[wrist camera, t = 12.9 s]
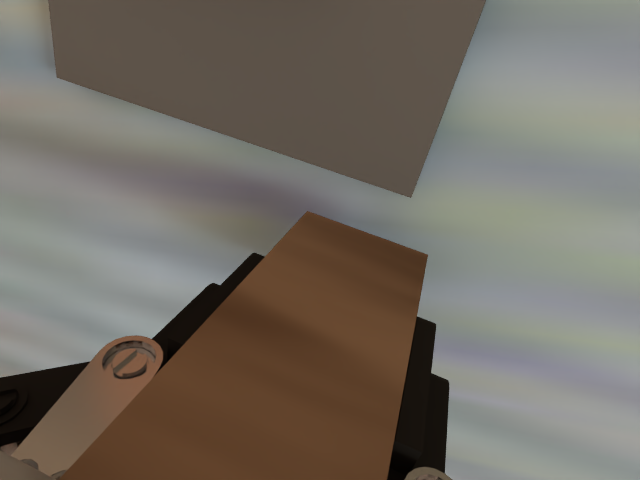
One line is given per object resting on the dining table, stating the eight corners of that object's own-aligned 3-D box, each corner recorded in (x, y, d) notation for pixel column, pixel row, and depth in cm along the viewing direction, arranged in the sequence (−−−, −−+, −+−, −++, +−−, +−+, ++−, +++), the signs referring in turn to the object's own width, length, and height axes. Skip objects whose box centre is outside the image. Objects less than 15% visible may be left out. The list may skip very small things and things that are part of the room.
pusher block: (387, 346, 14) (267, 813, 6) (285, 304, 15) (39, 664, 6) (427, 255, 12) (333, 774, 4) (307, 211, 13) (-15, 558, 4)
